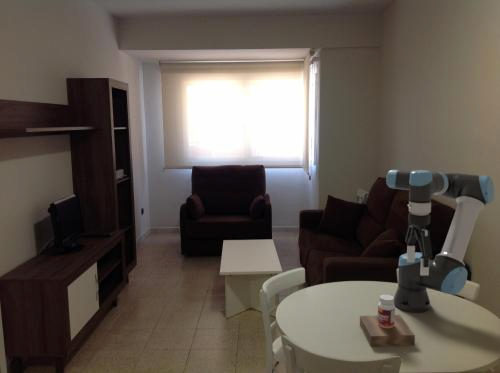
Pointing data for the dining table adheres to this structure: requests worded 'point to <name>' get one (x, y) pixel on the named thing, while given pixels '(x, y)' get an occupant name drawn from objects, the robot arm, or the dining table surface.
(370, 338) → the walnut block
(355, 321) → the dining table surface
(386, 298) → the pill bottle
